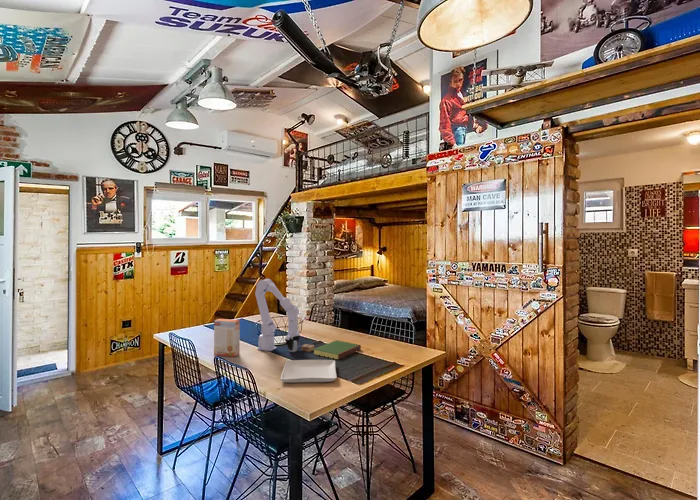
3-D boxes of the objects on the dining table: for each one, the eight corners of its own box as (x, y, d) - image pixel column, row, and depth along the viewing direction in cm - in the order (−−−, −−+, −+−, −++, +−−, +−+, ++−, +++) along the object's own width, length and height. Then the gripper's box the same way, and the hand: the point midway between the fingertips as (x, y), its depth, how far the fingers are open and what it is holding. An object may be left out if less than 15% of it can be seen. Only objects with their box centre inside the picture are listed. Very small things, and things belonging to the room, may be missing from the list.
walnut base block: (301, 351, 237) (301, 346, 237) (305, 348, 242) (305, 344, 242) (310, 352, 235) (310, 347, 235) (314, 349, 240) (314, 345, 240)
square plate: (285, 366, 208) (285, 359, 208) (335, 366, 210) (335, 359, 210) (279, 385, 181) (279, 377, 181) (336, 385, 183) (337, 377, 183)
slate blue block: (288, 351, 235) (288, 341, 235) (291, 349, 239) (291, 340, 239) (294, 352, 234) (294, 342, 234) (297, 350, 238) (297, 340, 237)
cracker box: (240, 354, 228) (240, 319, 227) (234, 357, 222) (234, 321, 221) (219, 352, 232) (219, 318, 231) (213, 354, 226) (213, 320, 225)
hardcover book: (338, 360, 220) (338, 354, 220) (313, 355, 230) (313, 348, 230) (361, 350, 241) (361, 344, 241) (336, 345, 251) (337, 340, 251)
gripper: (293, 330, 228) (293, 352, 228) (303, 324, 241) (303, 346, 242) (282, 329, 230) (282, 351, 230) (293, 324, 244) (293, 345, 244)
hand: (292, 348), depth 236 cm, fingers open, 6 cm apart
